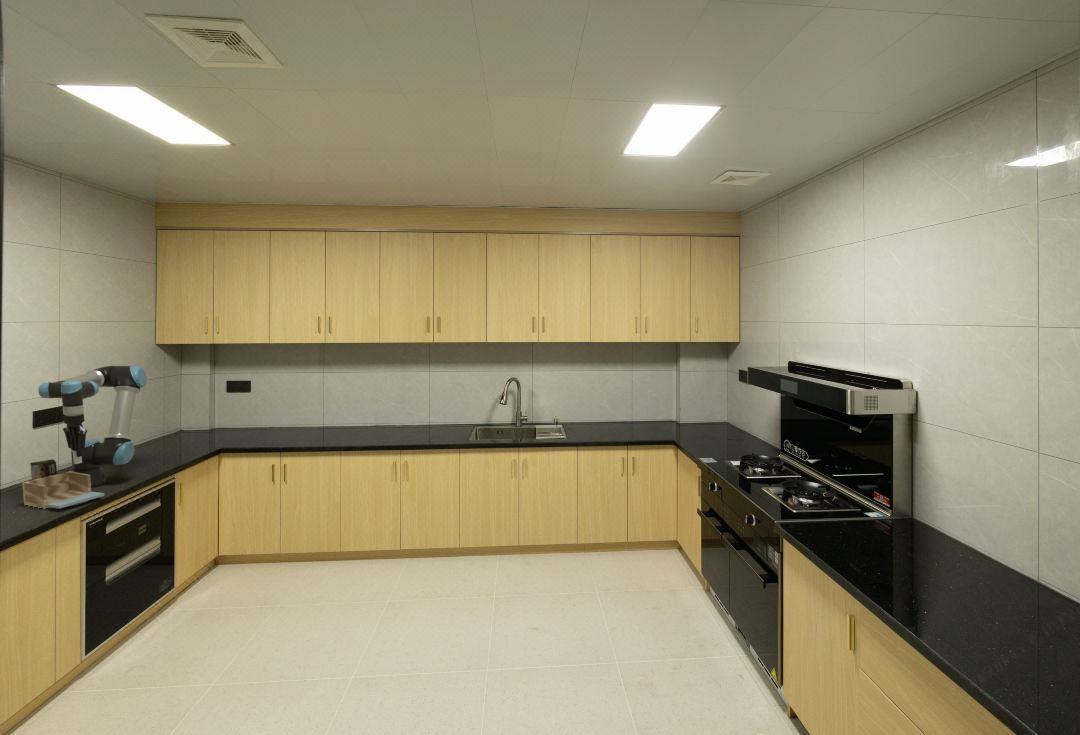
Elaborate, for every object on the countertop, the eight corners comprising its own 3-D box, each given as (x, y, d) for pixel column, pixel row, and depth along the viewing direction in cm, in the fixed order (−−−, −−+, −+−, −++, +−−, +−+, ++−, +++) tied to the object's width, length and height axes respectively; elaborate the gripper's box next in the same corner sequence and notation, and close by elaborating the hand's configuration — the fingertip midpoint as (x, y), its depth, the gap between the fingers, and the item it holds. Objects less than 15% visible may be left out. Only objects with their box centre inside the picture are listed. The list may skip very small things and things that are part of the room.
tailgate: (91, 491, 281) (104, 493, 278) (92, 495, 281) (104, 497, 278) (46, 504, 263) (59, 506, 260) (46, 508, 263) (59, 510, 260)
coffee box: (55, 489, 291) (53, 458, 289) (59, 492, 287) (56, 461, 285) (32, 494, 284) (29, 462, 282) (35, 497, 280) (32, 464, 278)
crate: (71, 492, 287) (69, 471, 286) (91, 496, 282) (90, 474, 281) (24, 505, 268) (22, 482, 267) (44, 509, 263) (43, 486, 262)
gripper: (55, 414, 266) (59, 463, 269) (74, 417, 262) (78, 467, 265) (72, 411, 273) (76, 459, 276) (92, 414, 269) (95, 462, 272)
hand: (77, 463), depth 270 cm, fingers closed
